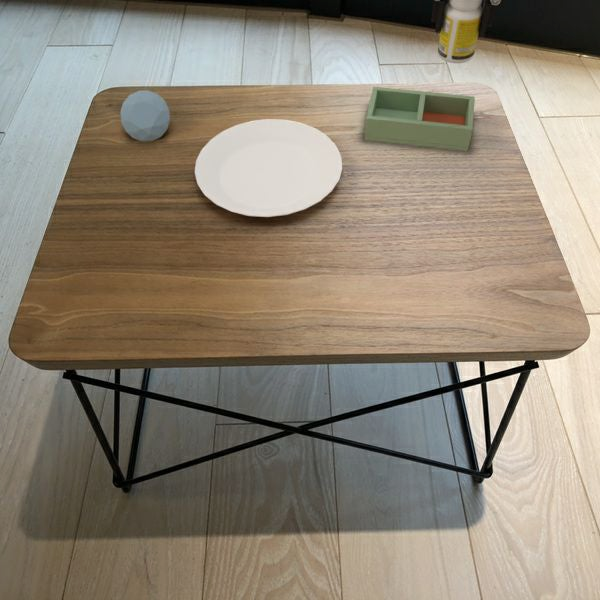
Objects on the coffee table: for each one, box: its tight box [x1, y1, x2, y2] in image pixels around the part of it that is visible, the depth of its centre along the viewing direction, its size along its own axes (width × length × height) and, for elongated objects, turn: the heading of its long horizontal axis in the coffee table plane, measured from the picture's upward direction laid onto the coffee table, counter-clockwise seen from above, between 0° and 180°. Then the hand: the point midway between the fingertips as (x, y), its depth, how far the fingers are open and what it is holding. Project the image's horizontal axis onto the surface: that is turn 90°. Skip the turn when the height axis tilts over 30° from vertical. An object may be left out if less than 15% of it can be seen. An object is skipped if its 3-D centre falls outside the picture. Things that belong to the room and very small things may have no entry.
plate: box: [194, 118, 344, 218], centre depth 88 cm, size 21×21×2 cm
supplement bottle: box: [437, 0, 483, 64], centre depth 78 cm, size 5×5×8 cm
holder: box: [363, 86, 476, 152], centre depth 93 cm, size 8×15×4 cm, turn 78°
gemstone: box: [119, 89, 171, 142], centre depth 95 cm, size 8×8×5 cm
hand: (460, 27), depth 79 cm, fingers closed on supplement bottle, 4 cm apart
